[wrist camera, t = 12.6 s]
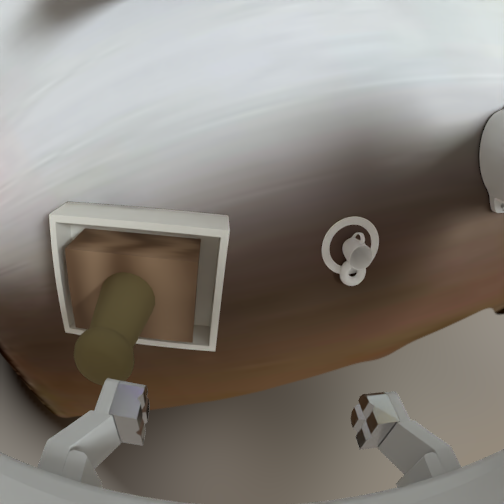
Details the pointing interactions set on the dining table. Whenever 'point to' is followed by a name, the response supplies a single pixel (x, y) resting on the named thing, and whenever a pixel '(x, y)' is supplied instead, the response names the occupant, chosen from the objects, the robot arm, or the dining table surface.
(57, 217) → the tote
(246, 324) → the dining table surface
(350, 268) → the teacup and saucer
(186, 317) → the walnut block
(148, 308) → the olive waisted cylinder
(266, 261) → the dining table surface
